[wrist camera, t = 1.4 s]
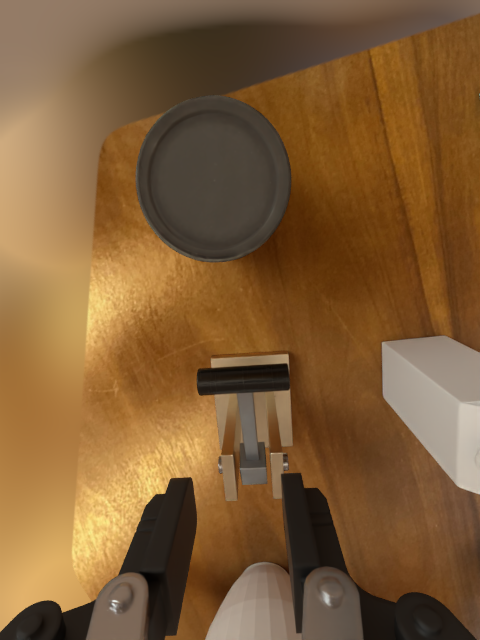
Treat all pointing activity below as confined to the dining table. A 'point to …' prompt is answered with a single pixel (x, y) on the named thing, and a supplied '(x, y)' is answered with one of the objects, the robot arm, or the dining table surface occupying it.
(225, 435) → the lever bracket
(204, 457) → the dining table surface
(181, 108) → the coffee can
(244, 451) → the lever handle
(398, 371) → the milk carton
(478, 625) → the dining table surface
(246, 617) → the vase
